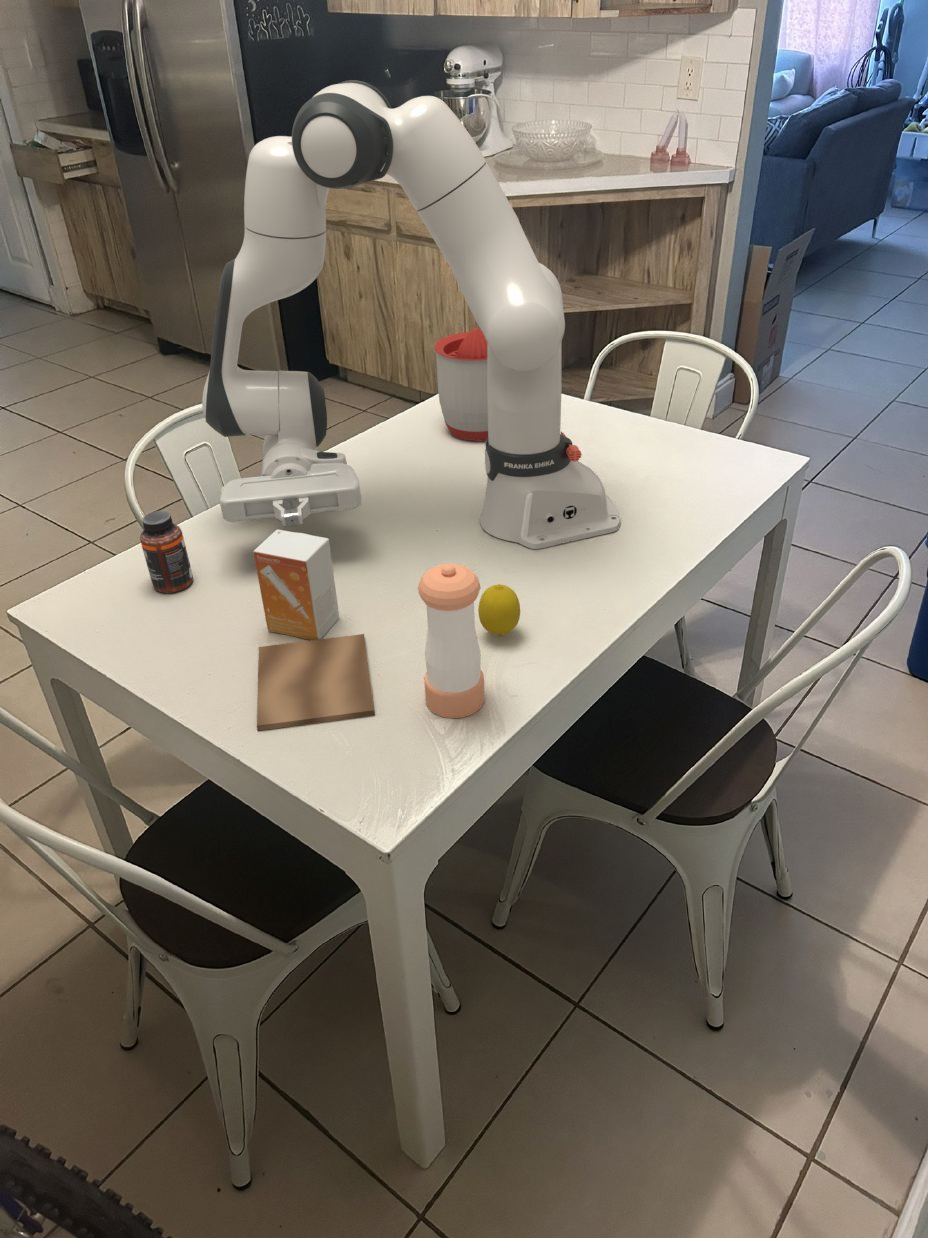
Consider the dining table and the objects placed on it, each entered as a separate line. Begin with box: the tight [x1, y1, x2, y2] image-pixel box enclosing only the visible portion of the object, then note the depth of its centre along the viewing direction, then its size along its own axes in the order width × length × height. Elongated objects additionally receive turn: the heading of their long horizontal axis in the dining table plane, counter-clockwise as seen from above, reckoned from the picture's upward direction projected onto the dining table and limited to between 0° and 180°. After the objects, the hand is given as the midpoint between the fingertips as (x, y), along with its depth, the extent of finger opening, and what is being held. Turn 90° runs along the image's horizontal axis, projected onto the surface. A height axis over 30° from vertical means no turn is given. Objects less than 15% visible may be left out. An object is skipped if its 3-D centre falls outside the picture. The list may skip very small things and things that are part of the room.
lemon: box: [477, 584, 521, 637], centre depth 122 cm, size 6×6×8 cm
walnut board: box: [256, 633, 376, 732], centre depth 117 cm, size 14×16×1 cm
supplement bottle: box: [139, 510, 194, 594], centre depth 134 cm, size 6×6×11 cm
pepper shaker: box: [417, 563, 486, 719], centre depth 108 cm, size 7×7×19 cm
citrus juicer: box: [433, 327, 488, 442], centre depth 174 cm, size 16×17×20 cm
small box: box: [253, 529, 340, 641], centre depth 124 cm, size 8×6×13 cm
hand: (292, 520), depth 130 cm, fingers closed
